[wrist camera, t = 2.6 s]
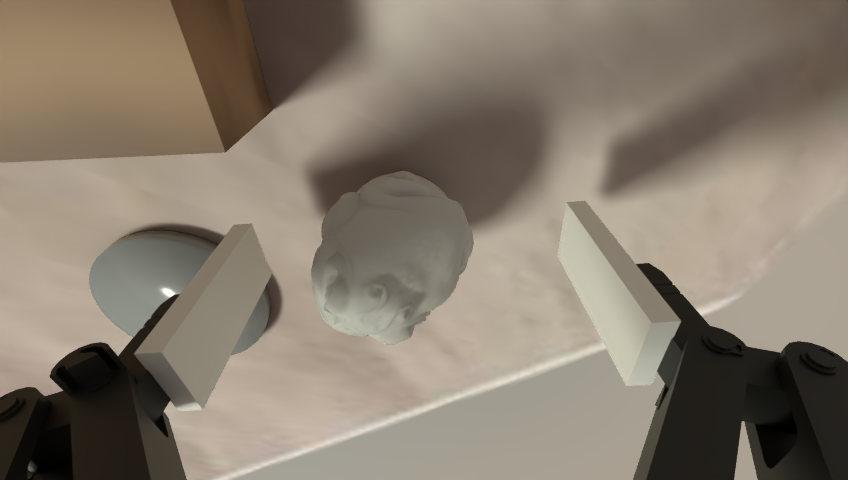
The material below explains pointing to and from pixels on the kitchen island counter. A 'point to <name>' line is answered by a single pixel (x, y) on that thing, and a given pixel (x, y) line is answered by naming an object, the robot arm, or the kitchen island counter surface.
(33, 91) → the walnut block
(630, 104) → the kitchen island counter surface
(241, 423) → the kitchen island counter surface
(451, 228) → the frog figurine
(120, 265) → the grey oval dome
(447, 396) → the kitchen island counter surface
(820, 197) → the kitchen island counter surface
